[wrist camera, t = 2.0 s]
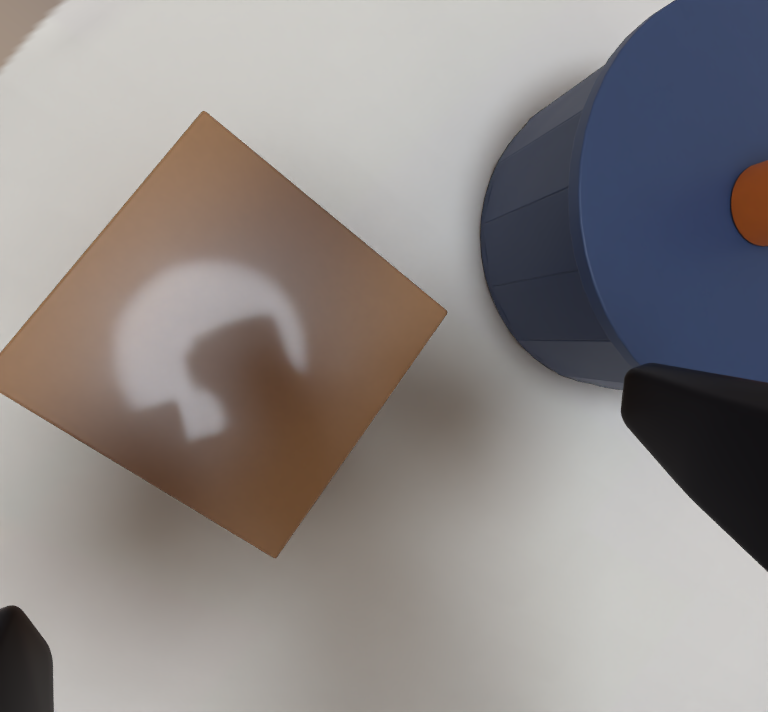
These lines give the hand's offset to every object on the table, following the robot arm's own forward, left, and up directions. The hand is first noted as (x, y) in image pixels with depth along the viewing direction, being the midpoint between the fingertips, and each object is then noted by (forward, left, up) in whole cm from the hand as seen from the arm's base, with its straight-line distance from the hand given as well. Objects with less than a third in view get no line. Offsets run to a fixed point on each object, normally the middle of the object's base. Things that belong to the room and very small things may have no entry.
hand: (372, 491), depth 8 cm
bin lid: (-9, -15, -7) cm, 19 cm away
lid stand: (+2, -1, -14) cm, 15 cm away
